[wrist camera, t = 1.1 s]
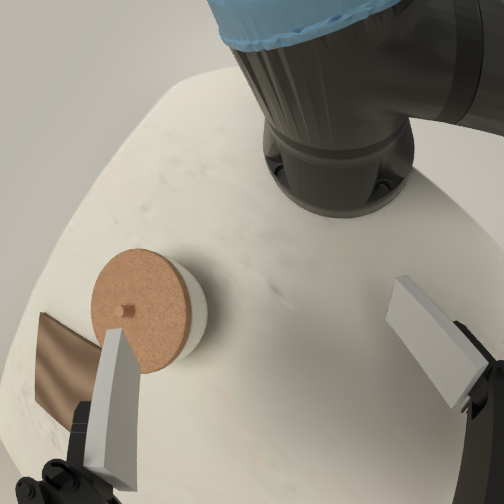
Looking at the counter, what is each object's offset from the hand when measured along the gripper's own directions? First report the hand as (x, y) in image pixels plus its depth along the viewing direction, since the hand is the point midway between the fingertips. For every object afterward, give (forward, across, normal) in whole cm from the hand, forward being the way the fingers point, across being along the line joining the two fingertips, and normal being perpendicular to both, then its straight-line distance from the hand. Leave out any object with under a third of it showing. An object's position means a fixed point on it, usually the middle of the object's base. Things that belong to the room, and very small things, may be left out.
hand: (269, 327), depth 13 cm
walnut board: (+16, -26, -21) cm, 37 cm away
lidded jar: (+15, -6, -10) cm, 20 cm away
